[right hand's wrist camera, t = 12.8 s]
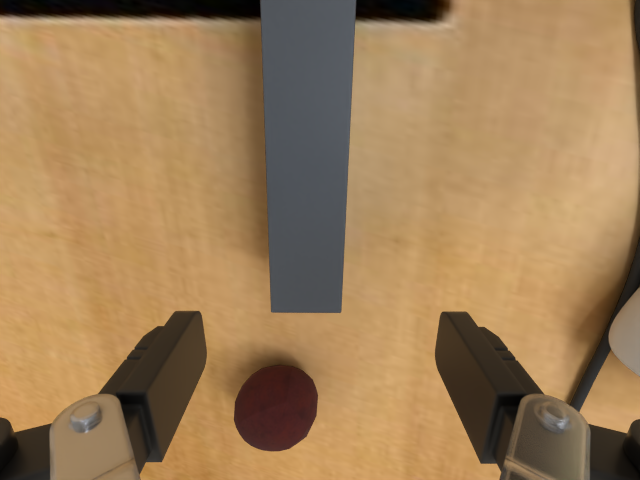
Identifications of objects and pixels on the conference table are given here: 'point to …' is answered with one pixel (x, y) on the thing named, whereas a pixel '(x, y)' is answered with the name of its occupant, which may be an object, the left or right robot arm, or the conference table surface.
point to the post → (307, 148)
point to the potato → (276, 408)
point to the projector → (627, 334)
